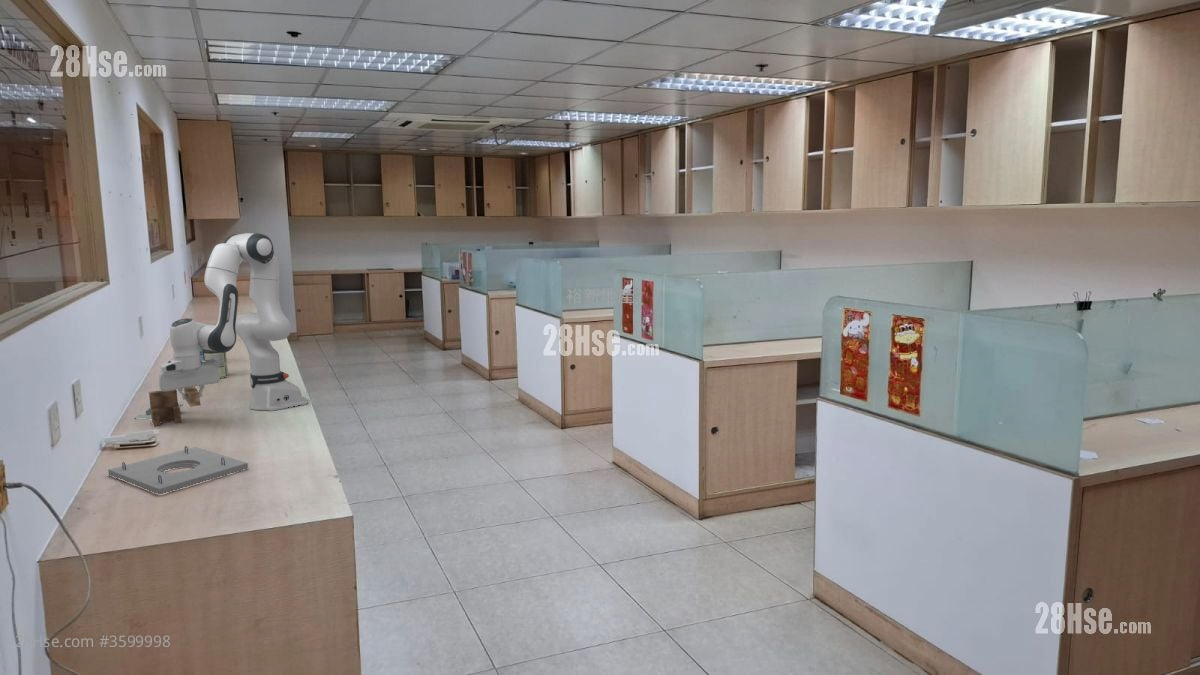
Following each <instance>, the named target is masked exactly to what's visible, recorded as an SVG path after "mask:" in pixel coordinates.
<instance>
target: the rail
mask: <svg viewBox="0 0 1200 675" xmlns="http://www.w3.org/2000/svg"><path fill="white" fill-rule="evenodd" d="M183 391H184V392H183V393H184V394H187V398H188V399H185V401H186V402H187V404H188V406H189V407H190V408H192V407H198V406H201V397H199V390H198V389H197V388H196V386H194V387H188V388H183Z"/></svg>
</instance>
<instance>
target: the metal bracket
mask: <svg viewBox="0 0 1200 675" xmlns="http://www.w3.org/2000/svg"><path fill="white" fill-rule="evenodd" d="M178 406H179V408H180V409H181V407H183V406H184V403H178ZM135 417H137V418H146V419H152V418H151V408H150V407H149V408H148V409H146V410H145V413H144V414H138V415H136V416H135ZM146 419H145V420H146Z"/></svg>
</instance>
